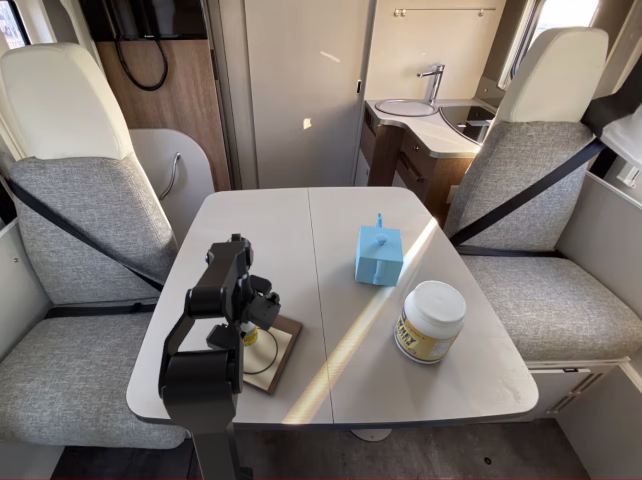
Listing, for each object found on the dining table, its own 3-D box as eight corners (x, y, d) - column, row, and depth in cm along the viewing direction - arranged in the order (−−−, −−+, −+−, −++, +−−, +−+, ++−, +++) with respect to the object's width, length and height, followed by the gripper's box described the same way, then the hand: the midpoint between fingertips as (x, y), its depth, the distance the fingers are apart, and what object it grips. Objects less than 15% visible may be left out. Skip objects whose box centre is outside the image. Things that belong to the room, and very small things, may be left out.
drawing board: (271, 394, 67) (271, 392, 66) (209, 366, 72) (208, 363, 71) (301, 325, 79) (301, 322, 78) (247, 305, 84) (246, 302, 83)
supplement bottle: (249, 323, 77) (244, 300, 71) (263, 337, 74) (259, 314, 68) (231, 337, 74) (225, 314, 68) (245, 352, 71) (240, 330, 65)
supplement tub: (384, 324, 79) (398, 282, 68) (427, 314, 81) (447, 271, 70) (409, 371, 70) (430, 331, 59) (457, 359, 72) (485, 318, 61)
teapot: (395, 298, 85) (406, 264, 76) (354, 293, 86) (360, 259, 78) (390, 243, 101) (399, 210, 92) (356, 239, 103) (361, 207, 94)
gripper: (249, 345, 53) (257, 383, 63) (291, 269, 66) (292, 311, 76) (197, 323, 57) (212, 363, 67) (246, 255, 70) (253, 297, 80)
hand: (245, 331), depth 72 cm, fingers closed on supplement bottle, 5 cm apart
